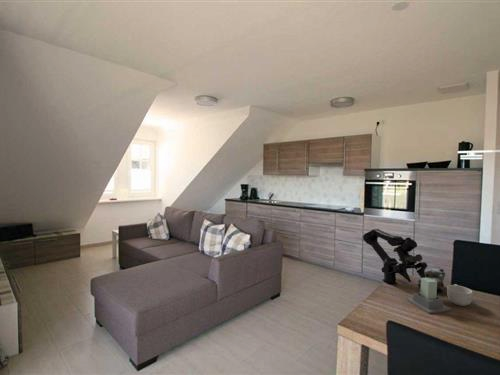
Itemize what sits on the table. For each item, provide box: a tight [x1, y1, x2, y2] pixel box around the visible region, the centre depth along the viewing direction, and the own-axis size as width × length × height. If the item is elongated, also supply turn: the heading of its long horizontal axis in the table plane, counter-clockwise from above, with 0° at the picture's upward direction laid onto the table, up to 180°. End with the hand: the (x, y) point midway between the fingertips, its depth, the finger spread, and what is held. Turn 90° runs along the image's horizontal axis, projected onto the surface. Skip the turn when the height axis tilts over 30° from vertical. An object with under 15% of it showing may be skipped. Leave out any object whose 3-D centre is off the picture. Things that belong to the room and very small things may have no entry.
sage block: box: [419, 277, 438, 300], centre depth 140 cm, size 5×5×13 cm
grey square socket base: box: [405, 291, 452, 315], centre depth 140 cm, size 14×14×5 cm
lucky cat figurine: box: [417, 267, 446, 292], centre depth 162 cm, size 15×12×14 cm
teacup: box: [446, 283, 473, 307], centre depth 144 cm, size 14×11×8 cm
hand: (417, 281), depth 147 cm, fingers open, 9 cm apart
